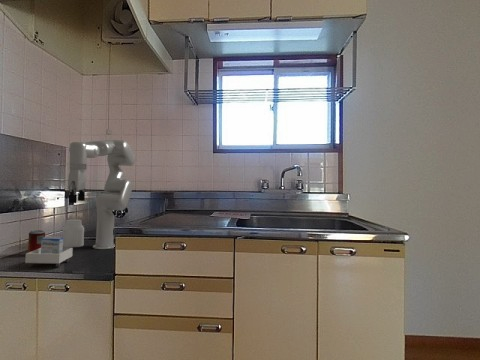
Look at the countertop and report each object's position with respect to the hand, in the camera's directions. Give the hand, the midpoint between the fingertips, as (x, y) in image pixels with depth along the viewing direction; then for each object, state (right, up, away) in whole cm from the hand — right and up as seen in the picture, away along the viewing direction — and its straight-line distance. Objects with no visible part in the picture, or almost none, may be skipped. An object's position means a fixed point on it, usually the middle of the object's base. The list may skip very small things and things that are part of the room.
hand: (77, 201), depth 158 cm
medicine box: (-7, -25, -10) cm, 28 cm away
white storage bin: (-7, -28, -12) cm, 31 cm away
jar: (-18, -28, +30) cm, 45 cm away
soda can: (-24, -28, +5) cm, 37 cm away
